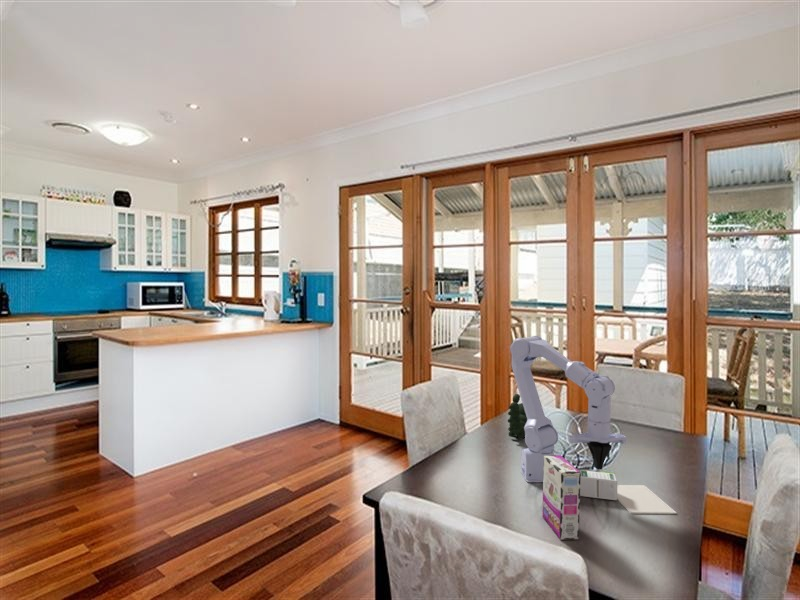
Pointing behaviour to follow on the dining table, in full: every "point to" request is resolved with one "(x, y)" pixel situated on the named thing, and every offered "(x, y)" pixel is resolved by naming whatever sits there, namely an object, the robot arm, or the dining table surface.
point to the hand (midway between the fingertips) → (598, 467)
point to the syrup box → (598, 484)
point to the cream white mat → (641, 500)
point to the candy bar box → (561, 497)
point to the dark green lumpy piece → (517, 418)
